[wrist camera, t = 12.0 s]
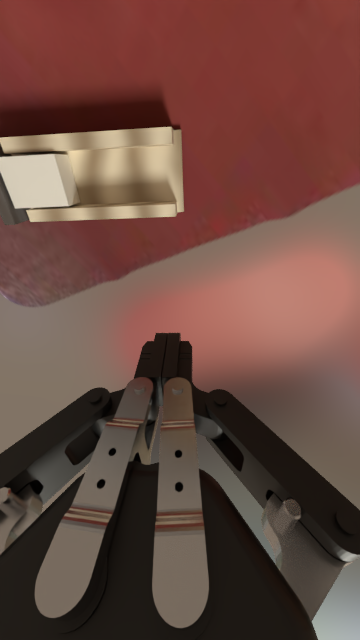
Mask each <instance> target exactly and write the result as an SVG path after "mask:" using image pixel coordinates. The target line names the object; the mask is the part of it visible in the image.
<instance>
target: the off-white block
mask: <svg viewBox="0 0 360 640" xmlns="http://www.w3.org/2000/svg"><path fill="white" fill-rule="evenodd" d="M0 173H1V175H2V178H3V180H4V182H5V185H6V187H7V190H8V192H9V195H10V197H11V200H12V202H13V205H14V207H15V208H37V207H61V206H71V205H74V204H77V203H79V202H80V199H79V195H78V191H77V187H76V183H75V180H74V176H73V172H72V168H71V164H70V160H69V156H68V155H63V154H44V155H27V156H10V157H0Z"/></svg>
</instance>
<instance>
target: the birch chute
mask: <svg viewBox="0 0 360 640" xmlns="http://www.w3.org/2000/svg"><path fill="white" fill-rule="evenodd" d="M44 154H63V155H68V156H69V160H70V164H71V168H72V172H73V176H74V180H75V183H76V187H77V191H78V195H79V199H80V202H79V203H77V204H74V205H71V206H61V207H37V208H15V207H14V205H13V202H12V200H11V197H10V195H9V192H8V190H7V187H6V185H5V182H4V180H3V178H2V175H1V173H0V215H1V217H2V219H3V222H4V224H5V225H15V224H18V223H21V222H24V221H27V220H30V222H43V221H69V220H95V219H121V218H147V217H173V216H176V215H177V212H184V201H183V170H182V139H181V130H173V128H172V127H158V128H142V129H127V130H111V131H96V132H80V133H64V134H49V135H33V136H18V137H2V138H0V157H10V156H27V155H44Z"/></svg>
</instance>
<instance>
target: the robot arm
mask: <svg viewBox="0 0 360 640" xmlns="http://www.w3.org/2000/svg"><path fill="white" fill-rule="evenodd" d="M180 336H181V335H180V333H156V335H155V339H154V341H147V342H146V344H145V345H144V346H143V347H142V351H141V355H140V359H139V362H138V365H137V369H136V373H135V376H134V379H133V380H131V381H130V382H129V383H128V384H127V386H126V388H125V389H122V390H119V391H116V392H112V393H109V391H108V390H107V389H105V388H94V389H92V390H90V391H88V392H87V393H85V394H84V395H83V396H81V397H80V398H78V399H77V400H76V401H74V402H73V403H71V404H70V405H68V406H67V407H66V408H64V409H63V410H62V411H60V412H59V413H57V414H56V415H54V416H53V417H52V418H50V419H49V420H48V421H46V422H45V423H43V424H42V425H40V426H39V427H38V428H36V429H35V430H33V431H32V432H31V433H29V434H28V435H26V436H25V437H24V438H22V439H21V440H19V441H18V442H16V443H15V444H14V445H12V446H11V447H9V448H8V449H7V450H5V451H4V452H2V453H1V454H0V640H318V639H317V636H316V633H315V630H314V627H313V624H312V620H313V618H314V616H315V615H316V613H317V611H318V610H319V608H320V606H321V604H322V603H323V601H324V599H325V598H326V596H327V594H328V592H329V590H330V589H331V587H332V586H333V584H334V582H335V580H336V579H337V577H338V575H339V573H340V572H341V570H342V569H343V568H344V567H346V566H347V565H349V564H351V563H352V562H354V561H355V560H357V559H358V558H360V510H359V509H358V508H357V507H356V506H354V505H353V504H352V503H351V502H350V501H349V500H348V499H346V497H344V496H343V495H342V494H341V493H340V492H339V491H338V490H337V489H336V488H334V487H333V486H332V485H331V484H330V483H329V482H328V481H327V480H326V479H325V478H324V477H322V476H321V475H320V474H319V473H318V472H317V471H316V470H315V469H313V468H312V467H311V466H310V465H309V464H308V463H307V462H306V461H305V460H304V459H302V458H301V457H300V456H299V455H298V454H297V453H296V452H295V451H294V450H292V449H291V448H290V447H289V446H288V445H287V444H286V443H285V442H284V441H283V440H281V439H280V438H279V437H278V436H277V435H276V434H275V433H274V432H273V431H271V430H270V429H269V428H268V427H267V426H266V425H265V424H264V423H263V422H261V421H260V420H259V419H258V418H257V417H256V416H255V415H254V414H253V413H252V412H250V411H249V410H248V409H247V408H246V407H245V406H244V405H243V404H241V402H239V401H238V400H237V399H236V398H235V397H234V396H233V395H232V394H230V393H229V392H227V391H225V390H220V389H217V390H213V391H211V392H210V393H207V392H204V391H201V390H199V389H197V388H196V387H195V386H194V384H193V383H192V346H191V344H190V343H189V341H181V337H180ZM159 406H163V421H162V424H161V432H160V434H161V435H160V454H159V463H155V464H151V465H150V457H151V450H152V446H153V442H154V437H155V432H156V428H157V423H158V413H159ZM196 433H198V434H200V435H203V436H205V437H206V439H207V441H208V442H209V443H210V444H211V446H212V447H213V448H214V449H215V451H216V452H217V453H218V454H219V455H220V457H221V458H222V459H223V460H224V461H225V463H226V464H227V465H228V466H229V468H230V469H231V470H232V471H233V472H234V474H235V475H236V476H237V477H238V478H239V480H240V481H241V482H242V483H243V485H244V486H245V487H246V488H247V489H248V490H249V492H250V493H251V494H252V495H253V497H254V498H255V499H256V500H257V501H258V503H259V504H260V505H261V506H262V508H263V509H264V511H263V513H262V519H261V521H262V527H263V531H264V534H265V536H266V537H267V539H268V541H269V542H270V544H271V546H272V548H273V551H274V554H275V559H276V565H275V563H274V562H273V560H272V559H271V558H270V556H269V555H268V553H267V552H266V550H265V549H264V548H263V546H262V545H261V543H260V542H259V540H258V539H257V537H256V536H255V535H254V533H253V532H252V530H251V529H250V527H249V526H248V524H247V523H246V522H245V520H244V519H243V518H242V516H241V515H240V513H239V512H238V510H237V509H236V507H235V506H234V504H233V503H232V502H231V500H230V499H229V497H228V496H227V494H226V493H225V492H224V490H223V489H222V487H221V486H220V485H219V483H218V482H217V481H216V480H215V479H214V478H213V477H212V476H210V475H209V474H208V473H206V472H205V471H203V470H201V469H199V466H198V454H197V443H196ZM89 462H90V463H89ZM88 463H89V465H88V467H87V470H86V472H85V473H84V474H82V475H81V476H80V477H79V478H78V479H76V480H75V482H73V483H72V484H71V485H70V486H69V487H68V488H67V489H66V490H65V492H63V493H62V494H61V495H60V496H59V497H58V498H57V499H56V500H55V501H54V502H53V503H52V504H51V505H50V506H49V507H48V508H47V509H46V510H45V511H44V512H43V513H42V514H41V512H42V508H43V505H44V504H45V503H46V502H47V501H48V500H49V499H50V498H51V497H52V496H54V494H56V492H58V491H59V490H60V489H61V488H62V487H63V486H64V485H65V484H66V483H67V482H69V481H70V480H71V479H72V478H73V477H74V476H75V475H76V474H77V473H78V472H79V471H80V470H81V469H83V468H84V467H85V466H86V465H87V464H88Z"/></svg>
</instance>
